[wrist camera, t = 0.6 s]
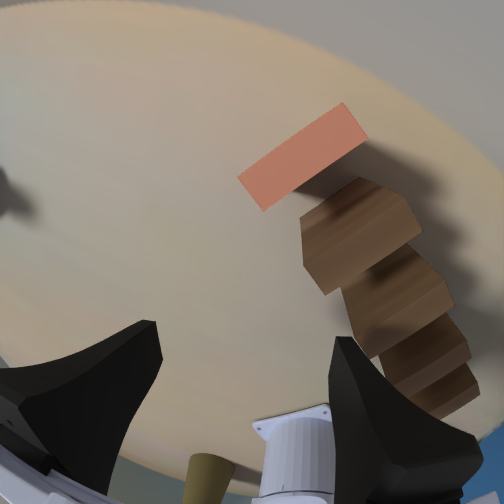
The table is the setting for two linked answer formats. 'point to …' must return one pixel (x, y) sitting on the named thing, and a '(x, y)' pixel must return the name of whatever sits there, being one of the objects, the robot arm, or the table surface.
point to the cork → (207, 479)
